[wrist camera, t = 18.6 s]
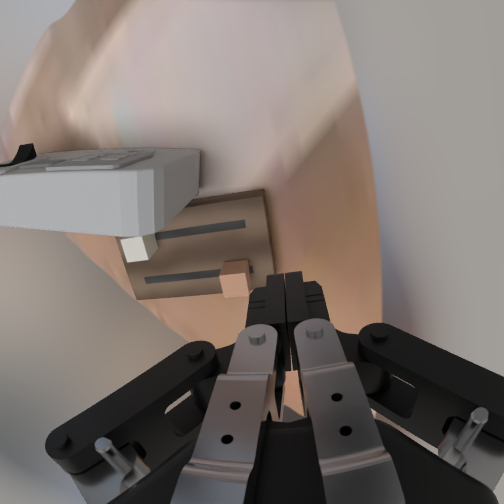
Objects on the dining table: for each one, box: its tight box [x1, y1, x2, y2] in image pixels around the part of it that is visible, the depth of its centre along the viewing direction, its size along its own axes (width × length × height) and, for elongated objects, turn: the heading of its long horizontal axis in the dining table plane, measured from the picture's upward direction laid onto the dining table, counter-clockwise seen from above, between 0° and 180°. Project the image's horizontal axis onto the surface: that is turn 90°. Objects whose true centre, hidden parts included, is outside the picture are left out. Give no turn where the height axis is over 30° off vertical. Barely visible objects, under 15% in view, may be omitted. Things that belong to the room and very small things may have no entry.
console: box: [115, 189, 276, 300], centre depth 40 cm, size 12×20×4 cm, turn 99°
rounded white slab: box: [0, 143, 200, 237], centre depth 30 cm, size 29×8×18 cm, turn 86°
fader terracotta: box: [219, 260, 251, 298], centre depth 37 cm, size 3×3×4 cm
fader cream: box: [120, 234, 158, 263], centre depth 36 cm, size 3×3×4 cm
